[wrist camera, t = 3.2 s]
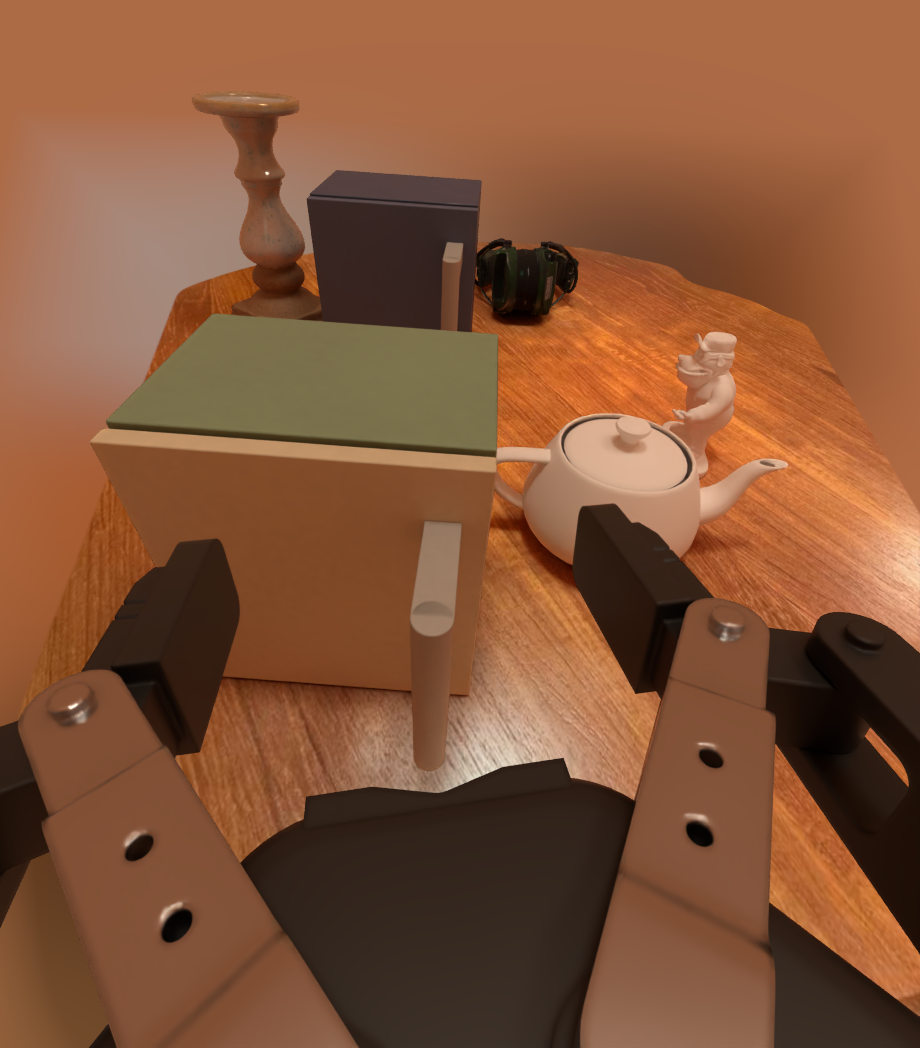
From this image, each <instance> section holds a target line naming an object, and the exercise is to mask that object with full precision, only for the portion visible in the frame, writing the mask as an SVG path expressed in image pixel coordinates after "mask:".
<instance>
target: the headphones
mask: <svg viewBox="0 0 920 1048" xmlns="http://www.w3.org/2000/svg"><path fill="white" fill-rule="evenodd" d="M511 245H512V241H510V240H504V239H502V238H501V239H498V240H494V241H492V242H490V243H489V244H488V245H487V246H486V247H484V248H483V249H481V250H480V251H479V252H478V253H477V257H476V267H477V275H476V276H477V277H478V282H477V280H476V278H475V284H476V285H477V286H478V287H481V291H482V293H483V295H484V296H485V298H486V299H487V301H488V302H489V303H490V304H491V305H492V306H493V311H494V312H497V313H498V314H501V315H505V314H506V312H508V314H510V312H511V311H512V310H519V311H520V310H529V311H530V312H531V315H532V314H533V315H534V316H539V315H547V314H548V313H549V309H550V308H551V307H552V306H554V305H555V304H556V303H557V302H558V301H559V300H560V299H561V298H562V297H563V296H564V294H566V292H567V293H571V292H572V291H573V290H574V288H575V287H576V283H577V280H578V269H577V268H578V265H579V262H578V261H577V260H576V259H574V258H573V257H572V256H571V254H570V253H569V252H568V251H567V250H566V249H565V248H564V247H563V246H562V245H560V244H556V243H553V242H551V241H550V242H541V248H535V249H534V250H527V249H521V250H519V249H518V250H516V247H511ZM497 246H503V247H502V248H500V249H499V250H498V249H497V250H491V249H493V248H496V247H497ZM548 248H551V249H554V250H557V251H559V252H560V253H563V254H560V253H556V252H553V251H551V250H549V249H548ZM573 280H574V283H573ZM491 283H492V302H491V301H490V300H489V298H488V297H487V295H486V294H485V292H484V291H483V289H482V287H485V286H487V285H490V284H491ZM572 283H573V286H572V288H571V285H572ZM555 284H556V285H558V286H559V288H560V289H561V290H562V291H563V292H564V293H563V294H562V295H561V296H560V297H559V298H558V299H557V300H556V301H555V302H554V303H553V304H552V301H553V296H554V290H555ZM570 288H571V289H570ZM569 289H570V290H569Z"/></svg>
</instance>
